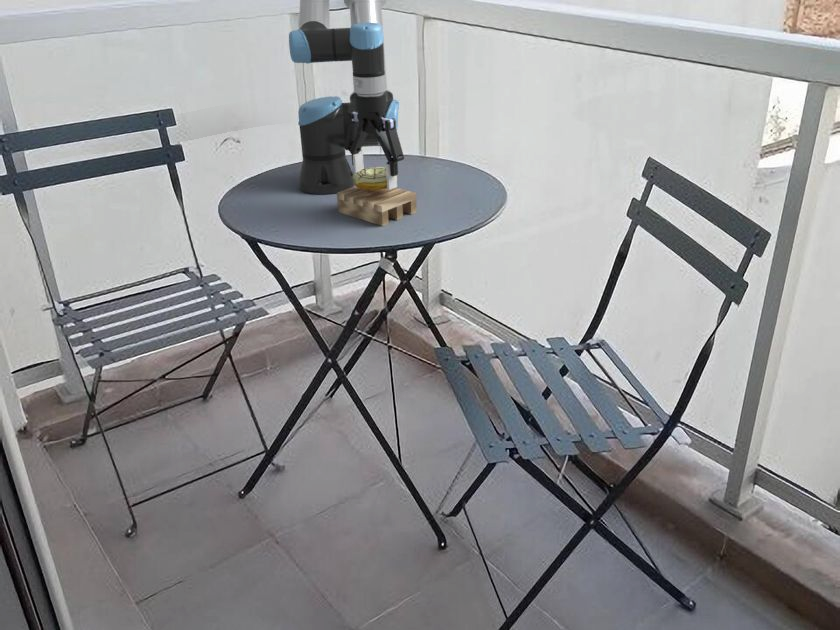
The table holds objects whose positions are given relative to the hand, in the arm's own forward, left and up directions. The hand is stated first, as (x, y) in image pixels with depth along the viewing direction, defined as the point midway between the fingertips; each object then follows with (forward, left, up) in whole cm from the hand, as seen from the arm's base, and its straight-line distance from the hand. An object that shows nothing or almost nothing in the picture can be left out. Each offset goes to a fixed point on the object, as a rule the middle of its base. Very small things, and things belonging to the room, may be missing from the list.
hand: (375, 183), depth 201 cm
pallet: (0, 0, -7) cm, 7 cm away
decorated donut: (0, 0, -1) cm, 1 cm away
